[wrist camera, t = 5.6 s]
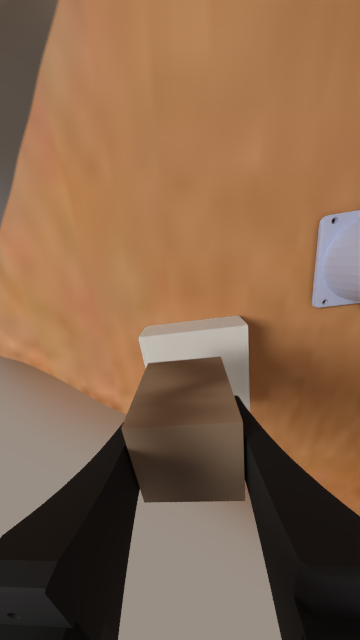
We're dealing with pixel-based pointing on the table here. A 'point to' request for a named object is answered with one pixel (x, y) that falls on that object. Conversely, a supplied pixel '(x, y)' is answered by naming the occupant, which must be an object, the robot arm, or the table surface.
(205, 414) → the walnut cube
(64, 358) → the table surface
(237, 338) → the base block
